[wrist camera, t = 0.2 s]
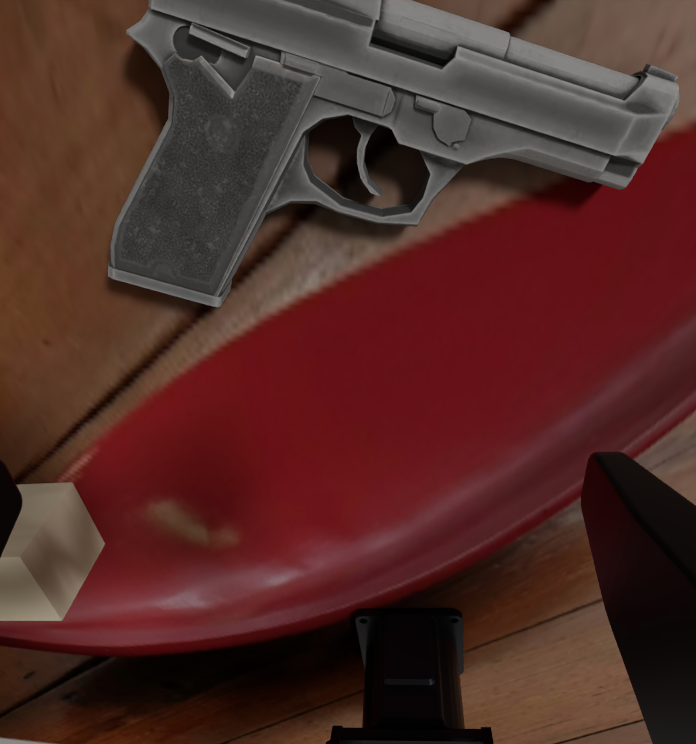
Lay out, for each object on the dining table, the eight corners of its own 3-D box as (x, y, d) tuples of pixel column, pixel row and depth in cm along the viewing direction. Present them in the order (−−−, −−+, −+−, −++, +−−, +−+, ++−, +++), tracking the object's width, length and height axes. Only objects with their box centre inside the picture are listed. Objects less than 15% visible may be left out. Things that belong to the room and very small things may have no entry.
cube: (105, 543, 32) (62, 620, 28) (28, 544, 33) (-25, 620, 29) (73, 481, 30) (19, 556, 25) (-10, 484, 30) (-76, 558, 26)
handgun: (524, 395, 22) (708, 70, 15) (100, 278, 21) (105, -132, 14) (513, 362, 24) (671, 64, 18) (127, 254, 23) (143, -113, 16)
